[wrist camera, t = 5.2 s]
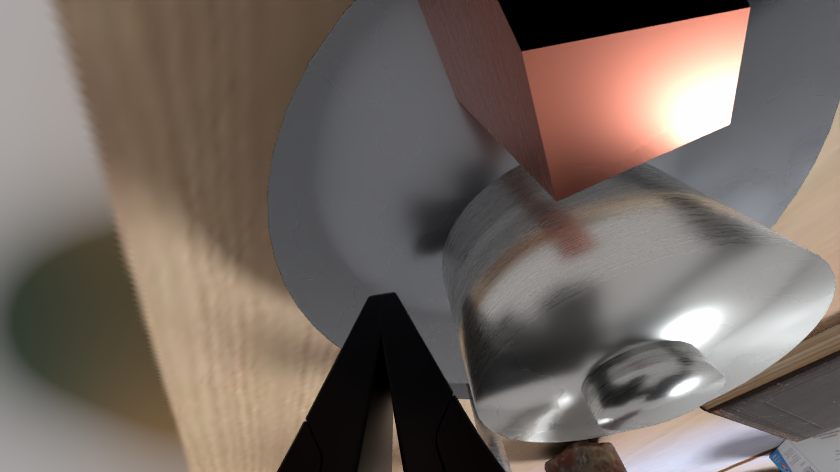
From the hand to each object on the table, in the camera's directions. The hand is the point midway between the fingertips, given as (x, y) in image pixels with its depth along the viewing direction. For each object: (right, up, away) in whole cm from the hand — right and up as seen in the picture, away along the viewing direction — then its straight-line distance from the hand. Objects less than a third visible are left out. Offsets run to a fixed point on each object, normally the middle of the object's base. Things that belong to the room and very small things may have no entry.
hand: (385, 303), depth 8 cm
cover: (+5, +1, +1) cm, 5 cm away
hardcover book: (+39, -11, +20) cm, 45 cm away
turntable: (+5, +3, +3) cm, 6 cm away
